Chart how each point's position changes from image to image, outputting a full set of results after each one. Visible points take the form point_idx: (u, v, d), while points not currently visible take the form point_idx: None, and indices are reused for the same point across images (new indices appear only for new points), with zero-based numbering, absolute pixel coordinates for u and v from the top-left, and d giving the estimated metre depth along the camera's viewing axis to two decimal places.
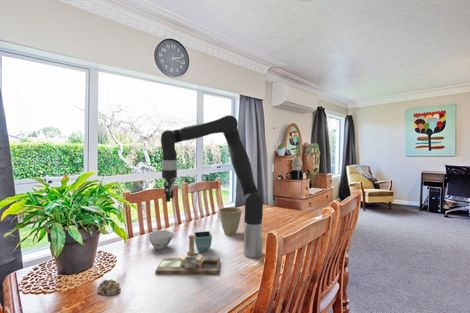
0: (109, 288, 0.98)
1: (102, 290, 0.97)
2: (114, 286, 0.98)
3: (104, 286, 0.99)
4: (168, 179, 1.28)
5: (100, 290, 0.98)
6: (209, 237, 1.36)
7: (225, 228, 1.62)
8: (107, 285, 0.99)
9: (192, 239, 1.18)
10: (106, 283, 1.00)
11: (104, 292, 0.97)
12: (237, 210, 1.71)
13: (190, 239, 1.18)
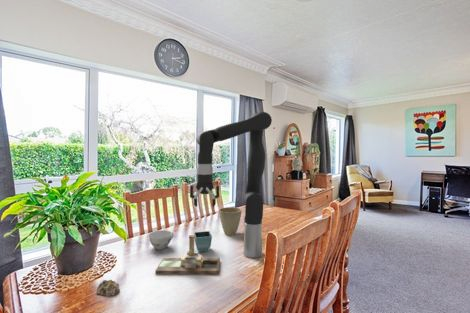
0: (108, 288, 0.98)
1: (101, 290, 0.97)
2: (113, 286, 0.98)
3: (103, 286, 0.99)
4: (212, 183, 1.23)
5: (99, 290, 0.97)
6: (209, 237, 1.36)
7: (225, 228, 1.62)
8: (106, 285, 0.99)
9: (192, 239, 1.18)
10: (105, 283, 1.00)
11: (103, 292, 0.96)
12: (237, 210, 1.71)
13: (190, 239, 1.18)
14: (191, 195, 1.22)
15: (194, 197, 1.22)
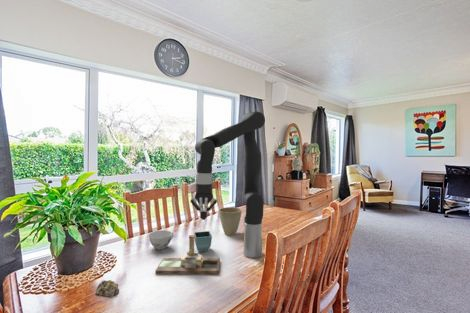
0: (107, 289, 0.97)
1: (100, 291, 0.97)
2: (112, 287, 0.98)
3: (102, 287, 0.99)
4: None
5: (98, 291, 0.97)
6: (209, 237, 1.36)
7: (225, 228, 1.62)
8: (105, 286, 0.99)
9: (192, 239, 1.18)
10: (104, 284, 1.00)
11: (102, 293, 0.96)
12: (237, 210, 1.71)
13: (190, 239, 1.18)
14: (198, 208, 1.17)
15: (201, 210, 1.17)
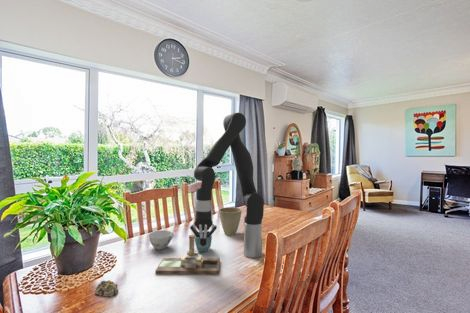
0: (107, 289, 0.97)
1: (99, 291, 0.96)
2: (112, 287, 0.98)
3: (102, 287, 0.98)
4: (211, 219, 1.19)
5: (98, 291, 0.97)
6: (209, 237, 1.36)
7: (225, 228, 1.62)
8: (105, 286, 0.99)
9: (192, 239, 1.18)
10: (104, 284, 0.99)
11: (101, 293, 0.96)
12: (237, 210, 1.71)
13: (190, 239, 1.18)
14: (197, 234, 1.18)
15: (200, 236, 1.18)
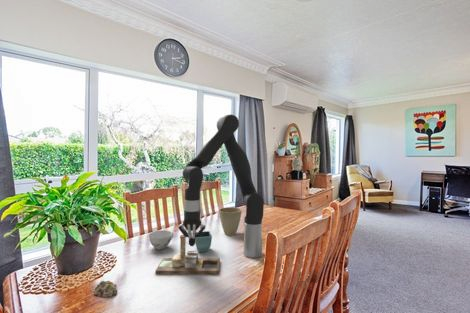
0: (106, 289, 0.97)
1: (99, 291, 0.96)
2: (111, 287, 0.97)
3: (101, 287, 0.98)
4: None
5: (97, 291, 0.97)
6: (209, 237, 1.36)
7: (225, 228, 1.62)
8: (104, 286, 0.98)
9: (183, 239, 1.18)
10: (103, 284, 0.99)
11: (100, 293, 0.96)
12: (237, 210, 1.71)
13: (181, 239, 1.18)
14: (186, 234, 1.17)
15: (189, 236, 1.18)
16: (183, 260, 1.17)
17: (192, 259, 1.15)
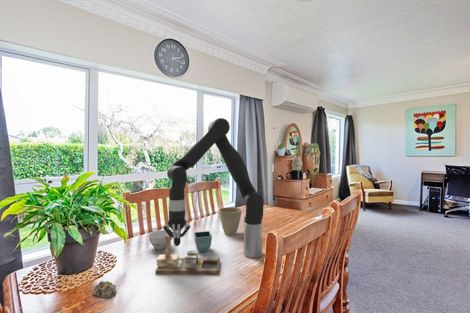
0: (104, 290, 0.97)
1: (97, 292, 0.96)
2: (110, 288, 0.97)
3: (100, 288, 0.98)
4: None
5: (95, 292, 0.96)
6: (209, 237, 1.36)
7: (225, 228, 1.62)
8: (103, 287, 0.98)
9: (168, 239, 1.18)
10: (102, 285, 0.99)
11: (99, 294, 0.95)
12: (237, 210, 1.71)
13: (166, 239, 1.18)
14: (171, 234, 1.17)
15: (174, 236, 1.17)
16: (167, 260, 1.17)
17: (192, 259, 1.15)
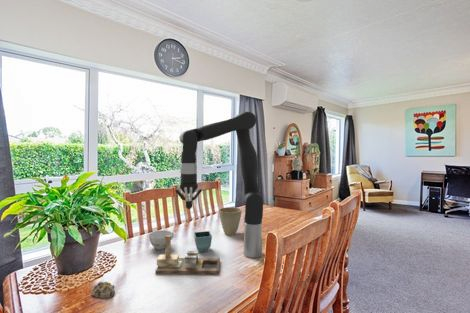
0: (103, 290, 0.96)
1: (96, 292, 0.96)
2: (108, 288, 0.97)
3: (98, 288, 0.98)
4: (196, 183, 1.21)
5: (94, 292, 0.96)
6: (209, 237, 1.36)
7: (225, 228, 1.62)
8: (101, 287, 0.98)
9: (168, 239, 1.18)
10: (101, 285, 0.98)
11: (98, 294, 0.95)
12: (237, 210, 1.71)
13: (166, 239, 1.18)
14: (183, 197, 1.20)
15: (186, 199, 1.20)
16: (167, 260, 1.17)
17: (192, 259, 1.15)
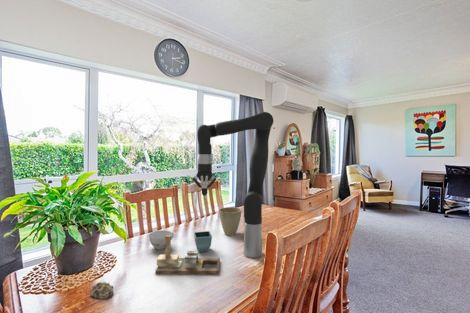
0: (102, 291, 0.96)
1: (95, 293, 0.95)
2: (107, 289, 0.96)
3: (97, 289, 0.97)
4: (211, 172, 1.35)
5: (93, 293, 0.96)
6: (209, 237, 1.36)
7: (225, 228, 1.62)
8: (100, 288, 0.97)
9: (168, 239, 1.18)
10: (99, 286, 0.98)
11: (96, 295, 0.94)
12: (237, 210, 1.71)
13: (166, 239, 1.18)
14: (199, 185, 1.34)
15: (202, 187, 1.34)
16: (167, 260, 1.17)
17: (192, 259, 1.15)
